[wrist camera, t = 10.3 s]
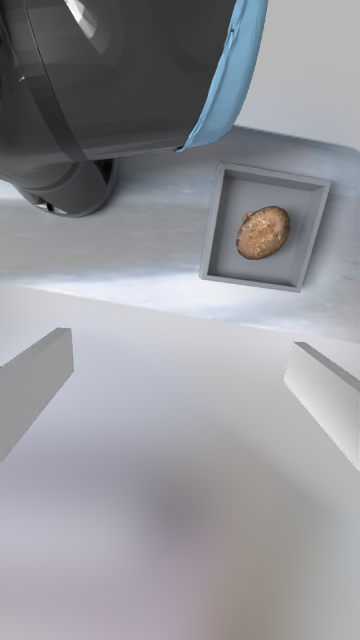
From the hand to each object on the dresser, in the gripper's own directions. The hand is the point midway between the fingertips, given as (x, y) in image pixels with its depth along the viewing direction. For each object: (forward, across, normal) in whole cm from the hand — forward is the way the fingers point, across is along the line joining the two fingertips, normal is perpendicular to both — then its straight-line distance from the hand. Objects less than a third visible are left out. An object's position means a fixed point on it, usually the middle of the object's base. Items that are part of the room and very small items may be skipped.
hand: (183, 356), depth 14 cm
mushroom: (+26, +12, +9) cm, 30 cm away
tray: (+26, +12, +9) cm, 30 cm away
